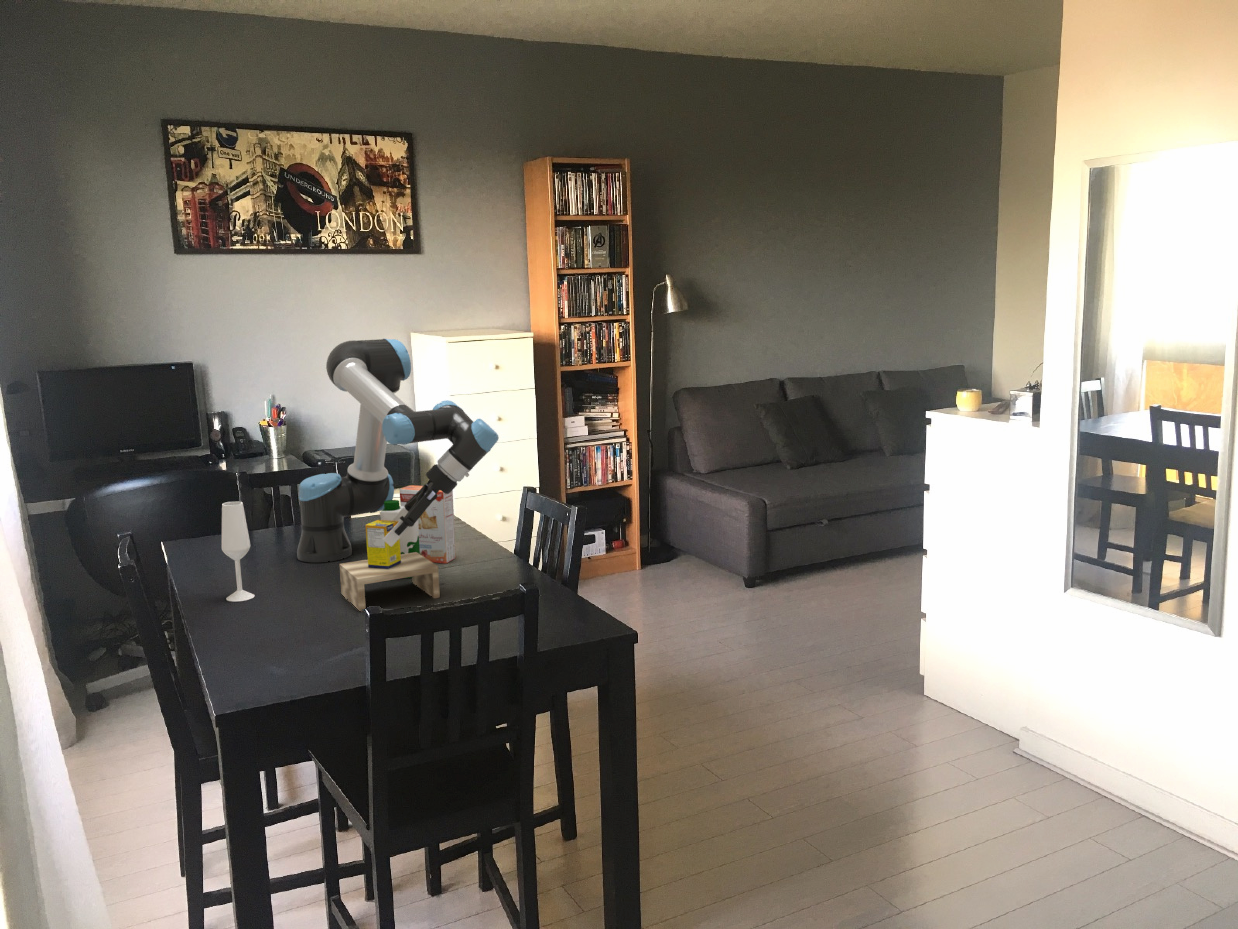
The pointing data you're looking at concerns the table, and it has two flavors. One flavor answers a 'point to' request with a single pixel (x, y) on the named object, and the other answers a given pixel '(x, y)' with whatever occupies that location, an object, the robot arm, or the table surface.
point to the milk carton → (411, 536)
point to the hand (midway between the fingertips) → (388, 536)
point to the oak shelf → (388, 576)
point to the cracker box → (434, 526)
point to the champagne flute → (235, 542)
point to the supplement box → (381, 545)
